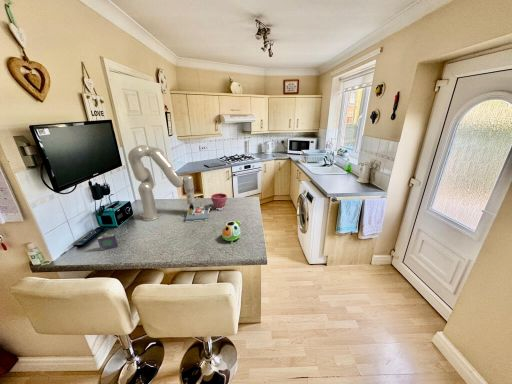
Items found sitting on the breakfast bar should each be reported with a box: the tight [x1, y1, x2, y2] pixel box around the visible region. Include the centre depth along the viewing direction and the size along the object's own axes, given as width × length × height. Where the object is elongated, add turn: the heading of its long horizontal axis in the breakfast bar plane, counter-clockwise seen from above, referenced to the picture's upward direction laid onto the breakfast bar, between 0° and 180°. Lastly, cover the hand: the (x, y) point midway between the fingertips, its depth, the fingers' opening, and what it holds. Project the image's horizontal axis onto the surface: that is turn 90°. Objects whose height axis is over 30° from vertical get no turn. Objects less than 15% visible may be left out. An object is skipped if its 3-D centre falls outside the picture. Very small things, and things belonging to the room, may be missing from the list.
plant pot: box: [210, 192, 228, 209], centre depth 186 cm, size 14×14×13 cm
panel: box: [185, 206, 212, 222], centre depth 175 cm, size 18×24×4 cm
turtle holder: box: [221, 220, 242, 243], centre depth 141 cm, size 12×18×12 cm
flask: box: [97, 232, 119, 251], centre depth 128 cm, size 9×3×11 cm, turn 117°
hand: (191, 209), depth 177 cm, fingers closed
